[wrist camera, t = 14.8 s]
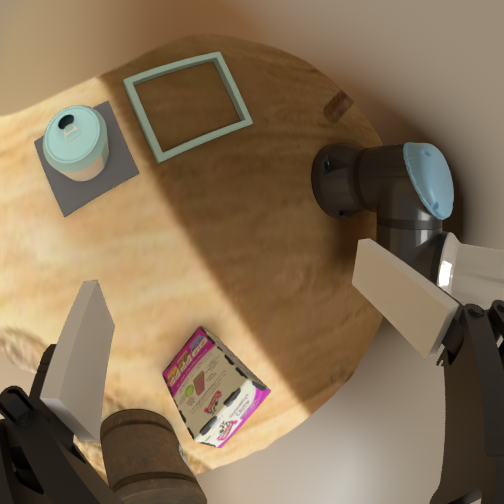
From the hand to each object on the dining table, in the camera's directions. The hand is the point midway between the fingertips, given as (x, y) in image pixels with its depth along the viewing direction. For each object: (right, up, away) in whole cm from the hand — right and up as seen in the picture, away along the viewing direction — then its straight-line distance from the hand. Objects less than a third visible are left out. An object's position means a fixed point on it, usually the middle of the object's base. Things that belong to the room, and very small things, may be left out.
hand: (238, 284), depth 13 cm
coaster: (-22, +14, +17) cm, 31 cm away
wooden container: (-21, -33, +27) cm, 47 cm away
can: (-22, +14, +17) cm, 31 cm away
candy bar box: (-10, -16, +30) cm, 35 cm away
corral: (-9, +24, +23) cm, 34 cm away
